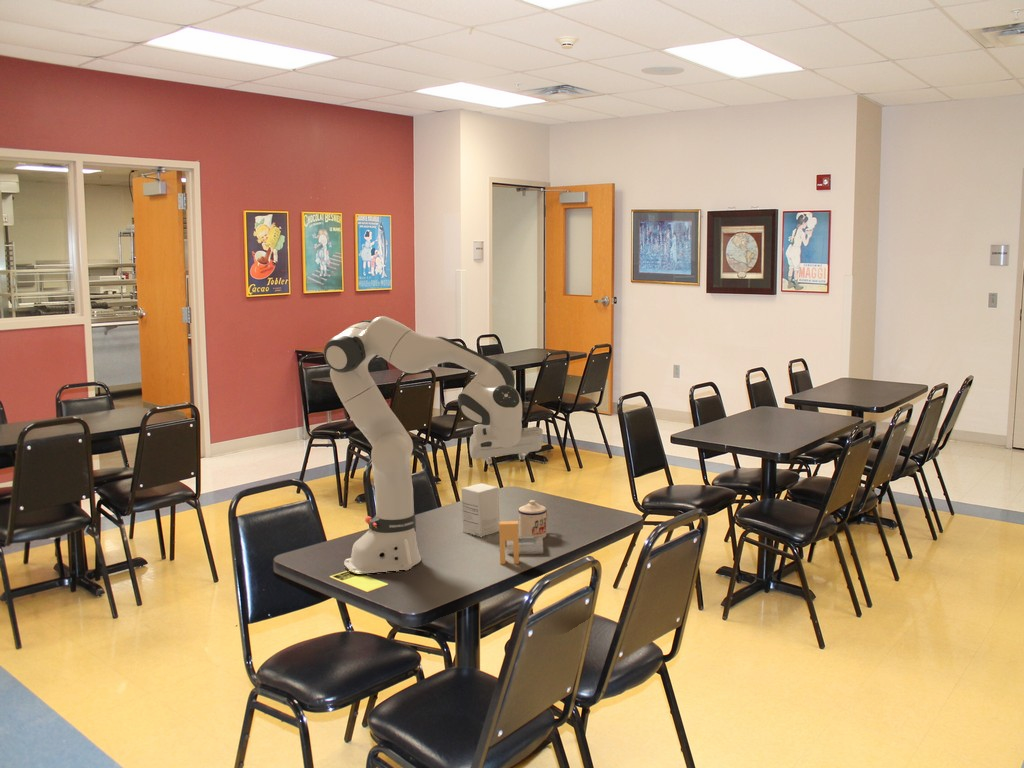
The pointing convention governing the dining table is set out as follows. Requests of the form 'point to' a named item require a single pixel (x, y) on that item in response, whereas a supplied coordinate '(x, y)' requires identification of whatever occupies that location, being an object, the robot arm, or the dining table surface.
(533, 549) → the rectangular frame block
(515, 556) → the orange notched arch block
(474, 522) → the supplement box
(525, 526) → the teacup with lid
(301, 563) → the dining table surface
